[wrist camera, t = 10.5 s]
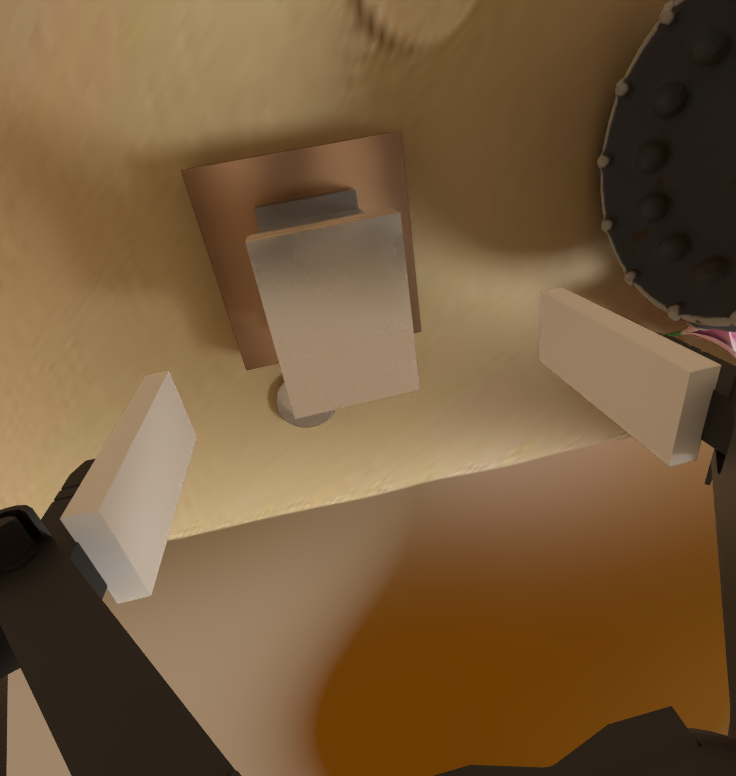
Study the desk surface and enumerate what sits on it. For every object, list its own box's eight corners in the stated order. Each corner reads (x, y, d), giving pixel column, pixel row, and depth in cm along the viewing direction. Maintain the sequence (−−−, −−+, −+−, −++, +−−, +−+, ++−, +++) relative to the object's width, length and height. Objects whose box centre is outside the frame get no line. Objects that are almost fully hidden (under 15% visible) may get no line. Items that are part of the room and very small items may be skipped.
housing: (351, 187, 28) (400, 212, 17) (370, 309, 32) (419, 389, 21) (254, 205, 27) (245, 243, 17) (286, 327, 31) (294, 419, 21)
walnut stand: (389, 132, 29) (401, 131, 27) (410, 318, 36) (421, 331, 33) (189, 168, 28) (181, 170, 25) (248, 353, 35) (246, 370, 32)
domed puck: (329, 362, 37) (330, 368, 36) (341, 413, 39) (343, 419, 38) (269, 377, 36) (269, 382, 35) (284, 427, 39) (285, 433, 38)
